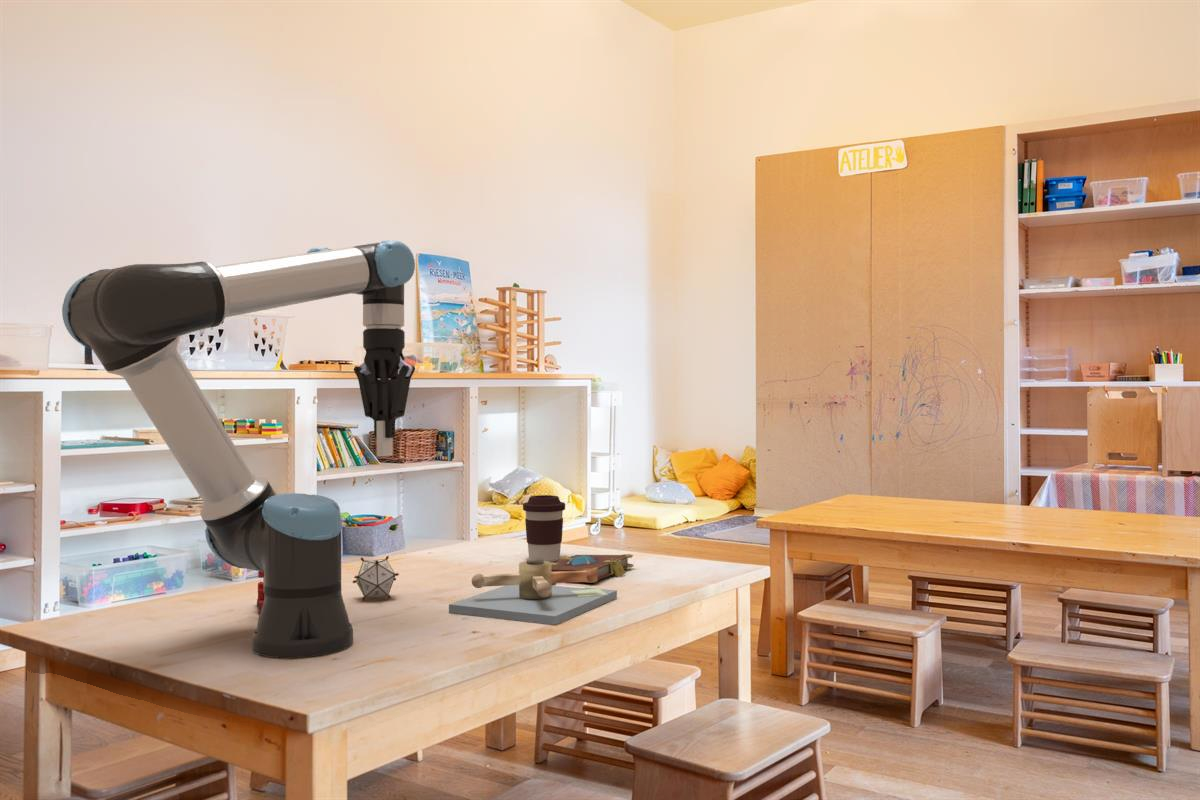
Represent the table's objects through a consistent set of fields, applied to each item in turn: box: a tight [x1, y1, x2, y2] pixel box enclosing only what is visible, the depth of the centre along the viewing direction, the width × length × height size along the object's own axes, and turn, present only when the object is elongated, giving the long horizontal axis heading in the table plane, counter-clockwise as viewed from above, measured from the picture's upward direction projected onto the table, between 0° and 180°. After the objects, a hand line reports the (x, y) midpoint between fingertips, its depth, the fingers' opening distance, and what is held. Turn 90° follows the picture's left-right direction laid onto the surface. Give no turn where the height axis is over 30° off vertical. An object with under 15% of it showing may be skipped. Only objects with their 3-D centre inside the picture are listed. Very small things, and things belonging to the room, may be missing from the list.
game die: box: [352, 555, 400, 602], centre depth 191 cm, size 9×8×10 cm
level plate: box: [448, 583, 618, 626], centre depth 184 cm, size 24×22×3 cm
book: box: [551, 553, 635, 583], centre depth 212 cm, size 16×25×5 cm, turn 155°
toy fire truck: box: [256, 571, 264, 614], centre depth 181 cm, size 3×14×10 cm, turn 21°
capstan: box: [471, 557, 598, 599], centre depth 184 cm, size 24×24×7 cm
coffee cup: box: [522, 494, 566, 563], centre depth 233 cm, size 10×10×15 cm
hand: (384, 455), depth 184 cm, fingers closed
